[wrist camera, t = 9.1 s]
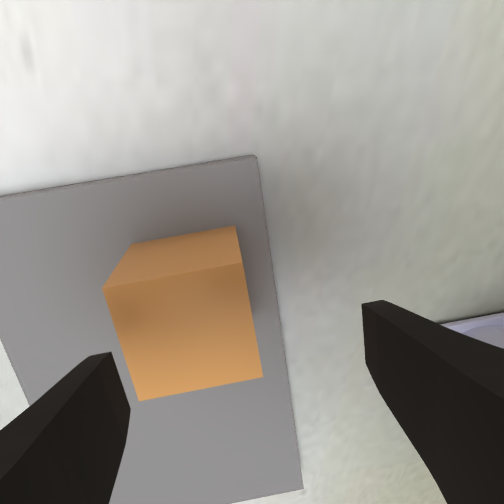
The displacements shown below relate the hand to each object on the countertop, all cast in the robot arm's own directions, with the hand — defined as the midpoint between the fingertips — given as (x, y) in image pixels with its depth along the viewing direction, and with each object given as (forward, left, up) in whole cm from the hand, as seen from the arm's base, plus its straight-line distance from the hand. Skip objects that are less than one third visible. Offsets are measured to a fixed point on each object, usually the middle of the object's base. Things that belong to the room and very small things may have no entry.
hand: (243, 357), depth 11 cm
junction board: (+5, +6, -10) cm, 13 cm away
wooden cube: (+2, +1, -8) cm, 9 cm away
